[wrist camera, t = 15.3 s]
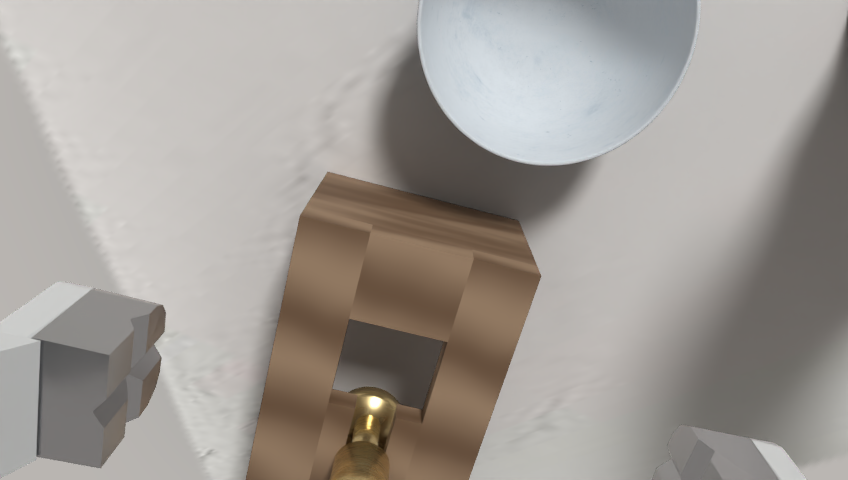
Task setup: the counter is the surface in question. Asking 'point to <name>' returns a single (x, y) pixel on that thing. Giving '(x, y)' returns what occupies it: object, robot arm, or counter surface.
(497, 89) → the chinaware
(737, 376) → the counter surface
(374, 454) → the brass peg
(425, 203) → the keyhole shelf
